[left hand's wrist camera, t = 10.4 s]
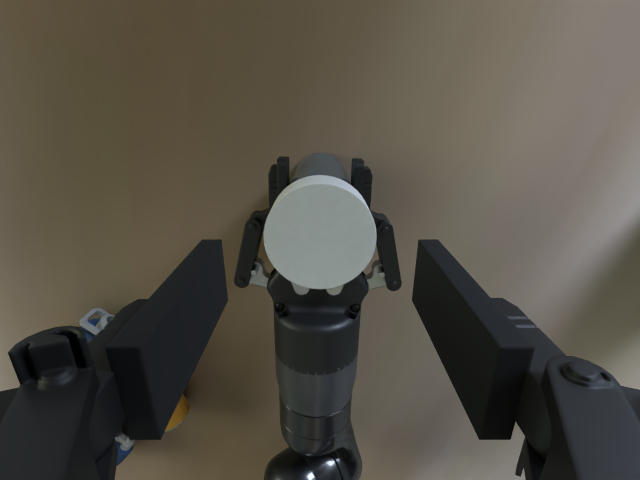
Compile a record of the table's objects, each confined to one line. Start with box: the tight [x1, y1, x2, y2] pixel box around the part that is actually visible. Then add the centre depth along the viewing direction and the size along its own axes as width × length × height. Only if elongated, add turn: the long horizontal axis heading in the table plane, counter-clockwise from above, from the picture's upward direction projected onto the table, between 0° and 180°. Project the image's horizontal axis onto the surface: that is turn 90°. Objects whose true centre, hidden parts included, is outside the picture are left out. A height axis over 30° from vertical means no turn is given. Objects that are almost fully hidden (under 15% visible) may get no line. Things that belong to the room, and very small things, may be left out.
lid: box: [264, 175, 376, 289], centre depth 18 cm, size 6×6×2 cm
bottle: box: [289, 153, 351, 185], centre depth 25 cm, size 5×5×15 cm
